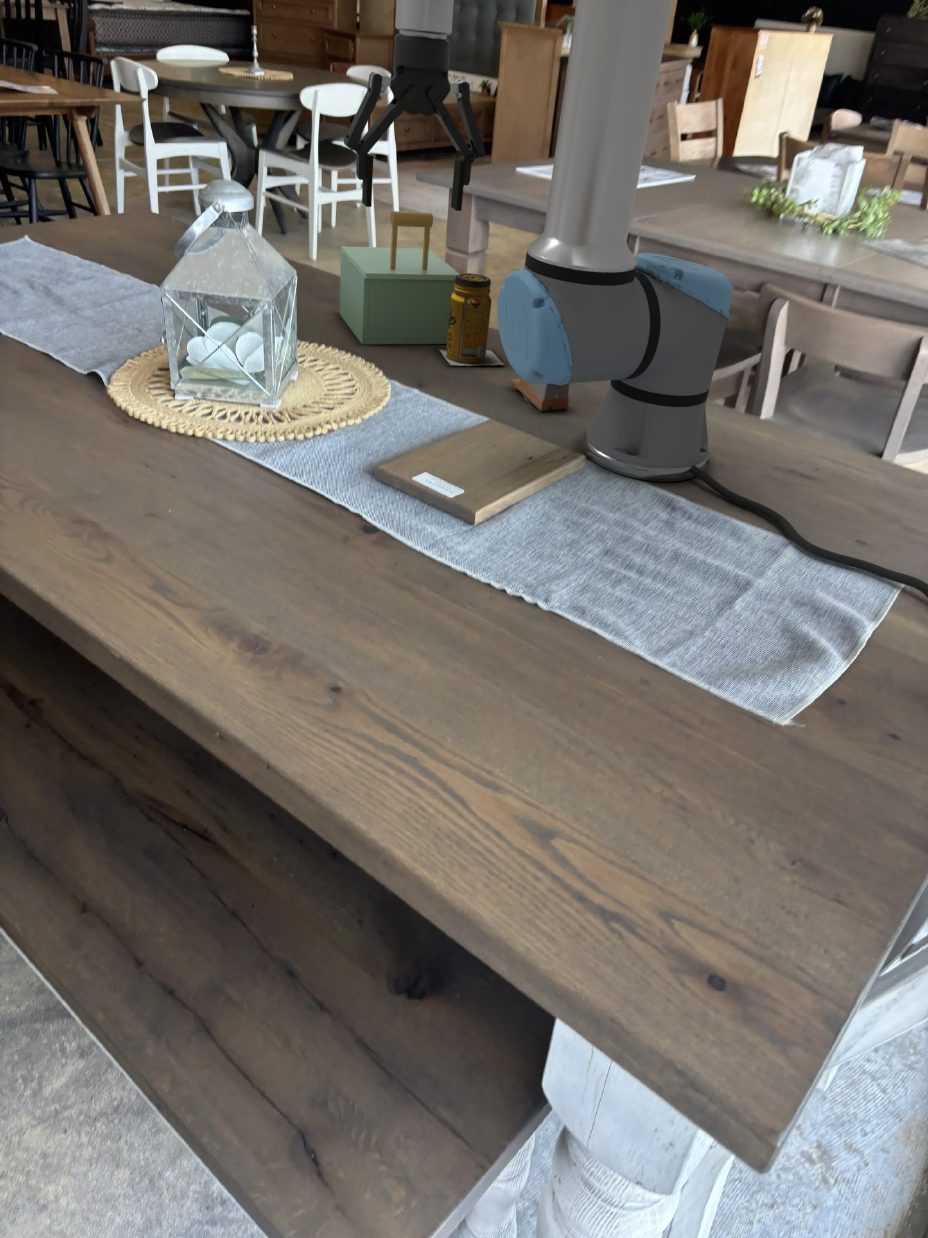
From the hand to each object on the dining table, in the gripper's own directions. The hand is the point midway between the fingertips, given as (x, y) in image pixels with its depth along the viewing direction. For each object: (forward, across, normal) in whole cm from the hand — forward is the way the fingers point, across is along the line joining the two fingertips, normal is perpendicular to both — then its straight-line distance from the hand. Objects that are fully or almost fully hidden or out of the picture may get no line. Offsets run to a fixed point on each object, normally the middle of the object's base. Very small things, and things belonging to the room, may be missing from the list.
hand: (412, 207), depth 132 cm
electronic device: (+19, -12, +27) cm, 35 cm away
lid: (+9, 0, -5) cm, 11 cm away
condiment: (+20, -8, +10) cm, 23 cm away
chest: (+19, 0, -5) cm, 20 cm away
